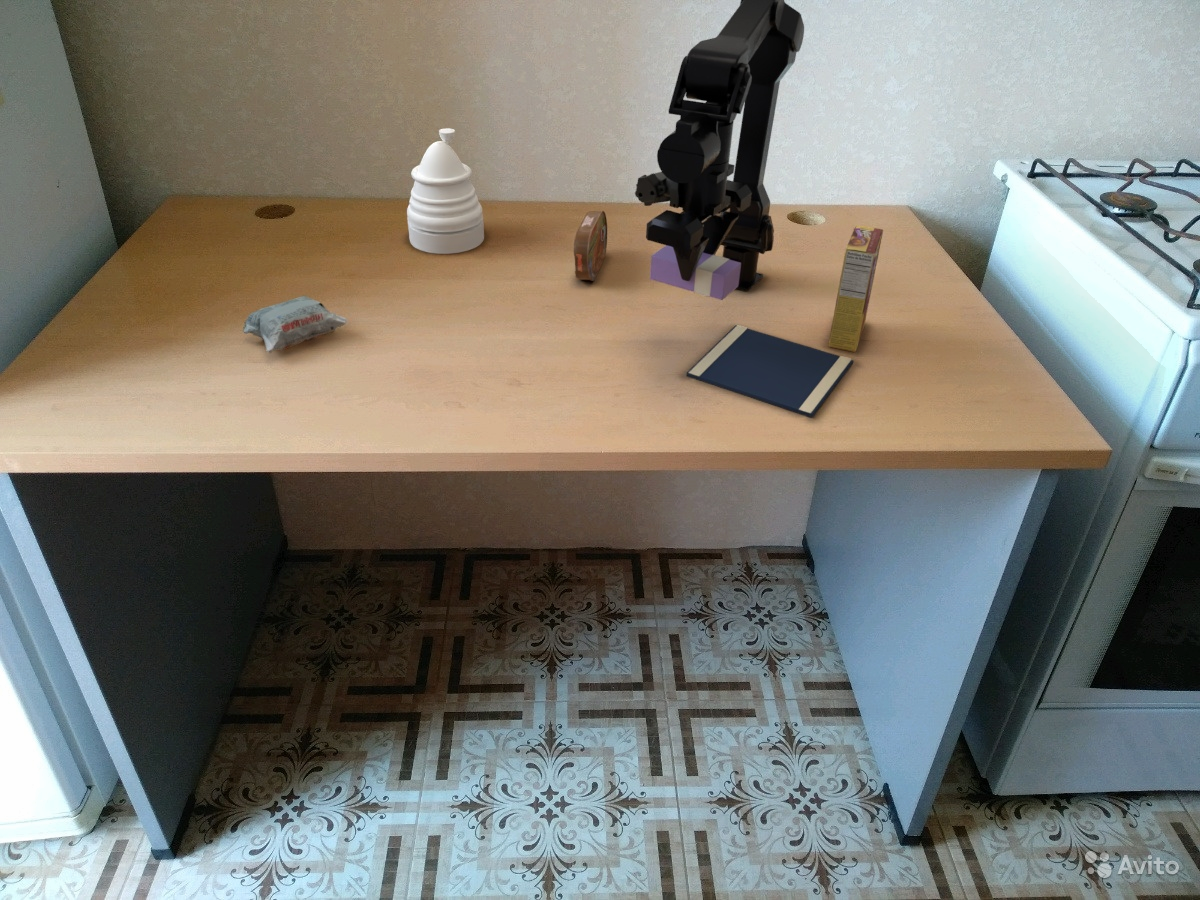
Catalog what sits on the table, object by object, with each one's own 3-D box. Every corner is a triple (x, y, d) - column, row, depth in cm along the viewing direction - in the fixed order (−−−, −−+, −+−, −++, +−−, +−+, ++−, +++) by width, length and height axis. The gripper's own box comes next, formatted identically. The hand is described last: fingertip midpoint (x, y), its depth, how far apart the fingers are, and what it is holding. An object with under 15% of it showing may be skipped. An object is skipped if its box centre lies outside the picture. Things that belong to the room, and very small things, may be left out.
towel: (735, 328, 131) (736, 324, 131) (852, 363, 124) (853, 359, 123) (686, 376, 120) (686, 371, 120) (812, 418, 113) (812, 413, 112)
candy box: (835, 319, 134) (855, 223, 125) (864, 325, 133) (886, 228, 124) (825, 347, 127) (845, 247, 118) (855, 353, 126) (878, 253, 117)
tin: (590, 289, 140) (591, 239, 135) (570, 287, 141) (570, 237, 136) (608, 251, 152) (610, 203, 147) (590, 249, 152) (591, 201, 147)
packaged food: (349, 336, 126) (343, 305, 123) (270, 364, 120) (262, 332, 117) (320, 315, 131) (314, 284, 128) (243, 340, 125) (235, 309, 122)
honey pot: (445, 218, 162) (437, 116, 151) (499, 236, 156) (494, 132, 145) (393, 240, 153) (381, 135, 142) (448, 260, 147) (439, 152, 136)
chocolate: (667, 266, 125) (669, 242, 122) (738, 286, 120) (741, 262, 118) (649, 279, 121) (650, 255, 119) (721, 301, 116) (724, 275, 114)
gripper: (684, 127, 120) (675, 235, 129) (611, 164, 107) (607, 282, 117) (760, 143, 115) (745, 254, 125) (693, 184, 103) (682, 305, 112)
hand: (695, 272), depth 120 cm, fingers closed on chocolate, 5 cm apart
